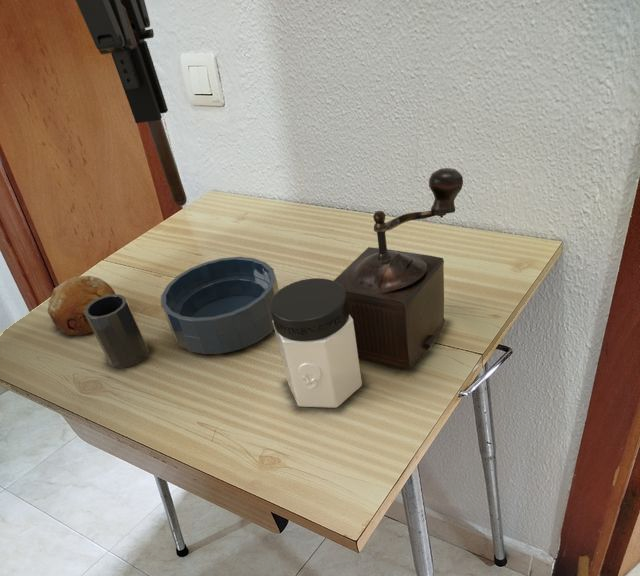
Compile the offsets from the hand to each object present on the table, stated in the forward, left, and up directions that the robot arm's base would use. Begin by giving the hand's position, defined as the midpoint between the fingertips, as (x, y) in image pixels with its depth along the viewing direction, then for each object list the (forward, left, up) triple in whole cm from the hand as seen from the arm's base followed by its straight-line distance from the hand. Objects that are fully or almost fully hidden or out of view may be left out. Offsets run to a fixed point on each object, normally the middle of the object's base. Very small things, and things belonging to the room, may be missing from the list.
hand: (152, 116), depth 63 cm
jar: (+16, -13, -28) cm, 35 cm away
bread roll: (-22, +5, -28) cm, 36 cm away
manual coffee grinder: (+25, -3, -28) cm, 37 cm away
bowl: (+1, +1, -27) cm, 27 cm away
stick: (0, 0, -10) cm, 10 cm away
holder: (-12, -5, -27) cm, 30 cm away
